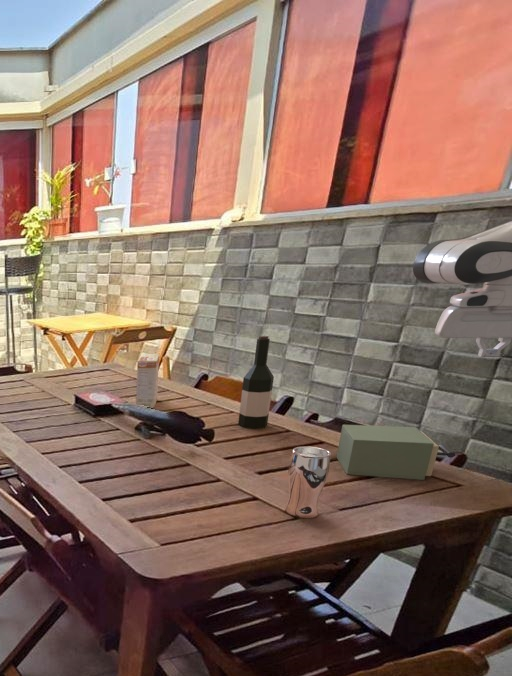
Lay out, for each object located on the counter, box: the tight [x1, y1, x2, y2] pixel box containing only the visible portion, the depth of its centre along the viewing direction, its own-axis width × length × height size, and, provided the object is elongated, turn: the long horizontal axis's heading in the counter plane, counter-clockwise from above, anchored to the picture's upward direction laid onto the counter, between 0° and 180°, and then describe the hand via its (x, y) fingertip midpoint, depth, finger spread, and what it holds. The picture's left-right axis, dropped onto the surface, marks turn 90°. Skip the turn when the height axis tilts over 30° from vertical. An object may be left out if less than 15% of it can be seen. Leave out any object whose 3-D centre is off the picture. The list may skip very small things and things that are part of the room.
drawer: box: [419, 430, 456, 477], centre depth 125 cm, size 18×11×8 cm, turn 61°
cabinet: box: [335, 424, 434, 481], centre depth 127 cm, size 15×13×10 cm
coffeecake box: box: [135, 353, 160, 408], centre depth 200 cm, size 15×7×20 cm, turn 150°
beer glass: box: [284, 445, 332, 519], centre depth 110 cm, size 7×7×15 cm
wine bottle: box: [237, 335, 275, 430], centre depth 162 cm, size 8×8×30 cm
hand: (487, 356), depth 117 cm, fingers closed
